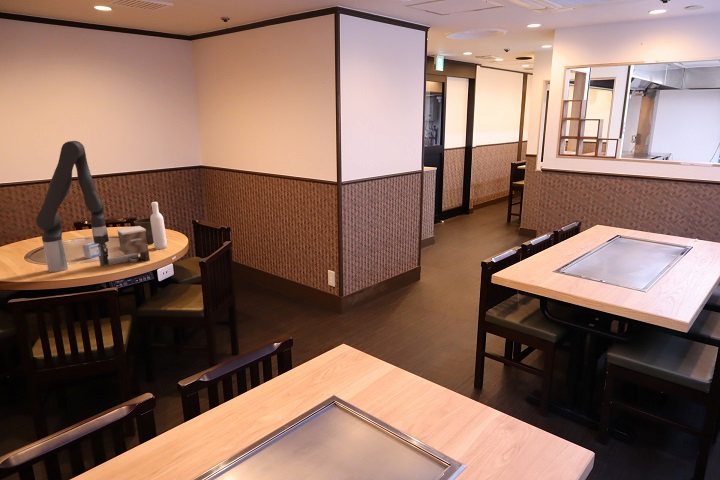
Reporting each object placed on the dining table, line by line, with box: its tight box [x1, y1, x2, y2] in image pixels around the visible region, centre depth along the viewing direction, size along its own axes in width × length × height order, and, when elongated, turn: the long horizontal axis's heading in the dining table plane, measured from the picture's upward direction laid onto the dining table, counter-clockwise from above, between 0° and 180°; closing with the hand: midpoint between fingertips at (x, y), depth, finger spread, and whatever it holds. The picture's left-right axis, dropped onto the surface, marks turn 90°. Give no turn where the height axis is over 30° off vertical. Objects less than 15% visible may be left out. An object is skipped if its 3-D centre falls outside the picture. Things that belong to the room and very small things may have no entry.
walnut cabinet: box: [116, 225, 151, 262], centre depth 275 cm, size 13×14×19 cm
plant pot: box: [133, 217, 154, 245], centre depth 316 cm, size 15×15×16 cm
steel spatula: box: [98, 253, 140, 268], centre depth 274 cm, size 20×3×6 cm, turn 130°
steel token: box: [128, 257, 140, 263], centre depth 277 cm, size 5×5×2 cm
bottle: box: [149, 201, 168, 250], centre depth 301 cm, size 8×8×30 cm
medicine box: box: [82, 241, 100, 259], centre depth 289 cm, size 8×4×9 cm, turn 168°
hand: (105, 263), depth 270 cm, fingers closed on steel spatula, 3 cm apart
